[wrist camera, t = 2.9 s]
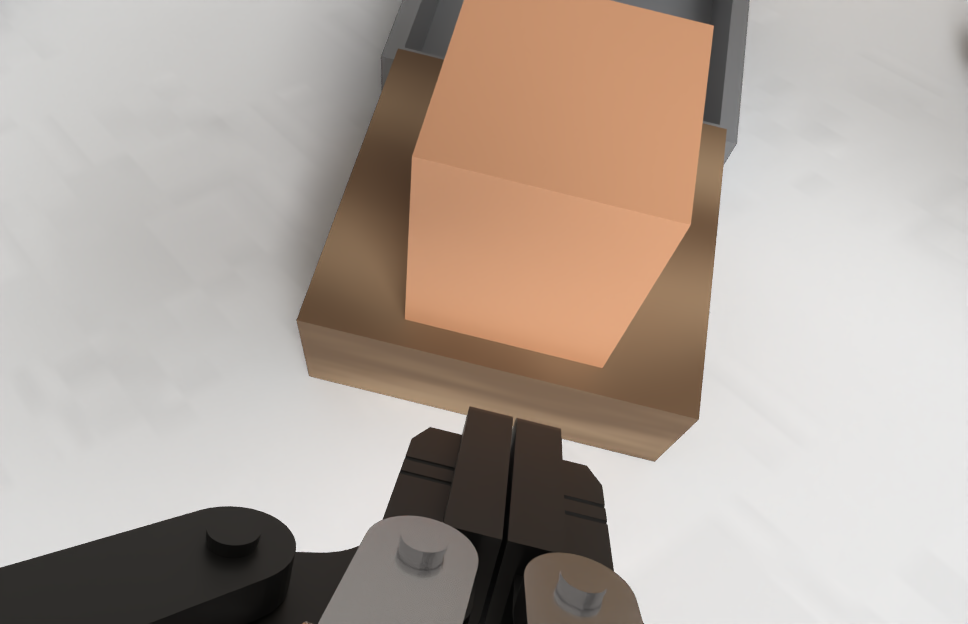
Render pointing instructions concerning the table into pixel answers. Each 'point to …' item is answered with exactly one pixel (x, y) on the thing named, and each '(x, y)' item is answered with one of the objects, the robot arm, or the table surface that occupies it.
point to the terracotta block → (554, 171)
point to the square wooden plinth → (487, 364)
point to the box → (716, 3)
